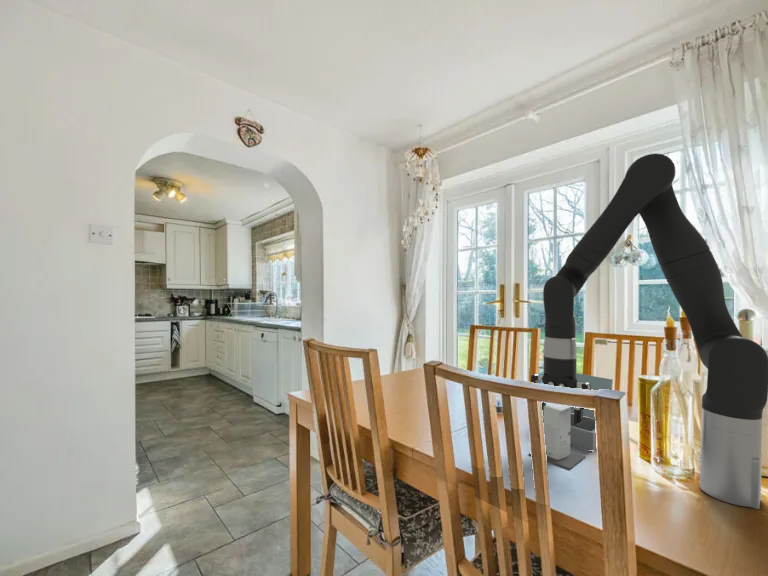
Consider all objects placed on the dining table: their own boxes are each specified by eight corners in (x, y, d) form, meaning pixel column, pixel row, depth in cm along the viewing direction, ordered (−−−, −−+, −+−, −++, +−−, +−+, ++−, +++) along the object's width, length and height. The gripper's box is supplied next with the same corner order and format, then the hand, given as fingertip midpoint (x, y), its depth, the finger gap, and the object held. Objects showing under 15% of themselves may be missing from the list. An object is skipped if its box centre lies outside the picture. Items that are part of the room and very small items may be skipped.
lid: (608, 422, 105) (609, 422, 105) (611, 379, 106) (612, 379, 107) (557, 409, 115) (558, 409, 116) (561, 370, 117) (562, 370, 117)
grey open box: (607, 440, 105) (608, 422, 105) (592, 452, 97) (593, 433, 97) (557, 426, 115) (557, 409, 115) (539, 435, 107) (540, 418, 107)
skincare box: (558, 461, 90) (560, 411, 90) (541, 454, 94) (542, 406, 94) (571, 454, 94) (572, 406, 94) (553, 448, 97) (555, 402, 97)
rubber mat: (585, 457, 93) (585, 456, 93) (569, 470, 87) (569, 468, 87) (546, 444, 101) (546, 443, 101) (528, 455, 94) (528, 453, 94)
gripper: (595, 357, 91) (595, 423, 91) (538, 350, 102) (538, 409, 101) (584, 361, 86) (584, 431, 86) (525, 353, 96) (525, 415, 96)
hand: (559, 419), depth 94 cm, fingers open, 8 cm apart
